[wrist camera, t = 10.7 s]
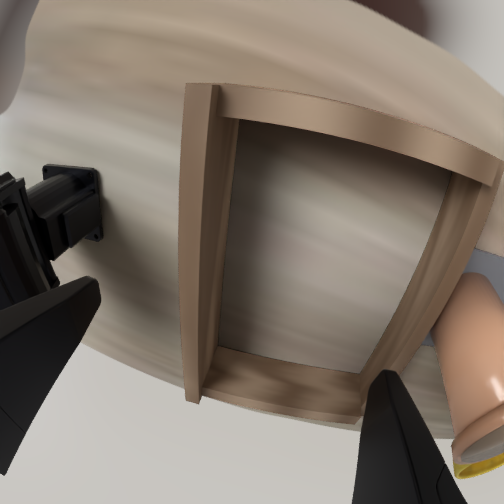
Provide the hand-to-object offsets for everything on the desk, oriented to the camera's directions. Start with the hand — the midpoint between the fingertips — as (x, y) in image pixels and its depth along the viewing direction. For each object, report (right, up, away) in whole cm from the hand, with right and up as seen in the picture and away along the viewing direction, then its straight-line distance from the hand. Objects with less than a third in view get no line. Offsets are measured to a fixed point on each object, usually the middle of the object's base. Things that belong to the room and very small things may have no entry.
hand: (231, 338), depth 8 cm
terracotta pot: (+18, -2, +12) cm, 21 cm away
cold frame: (+5, +1, +14) cm, 15 cm away
